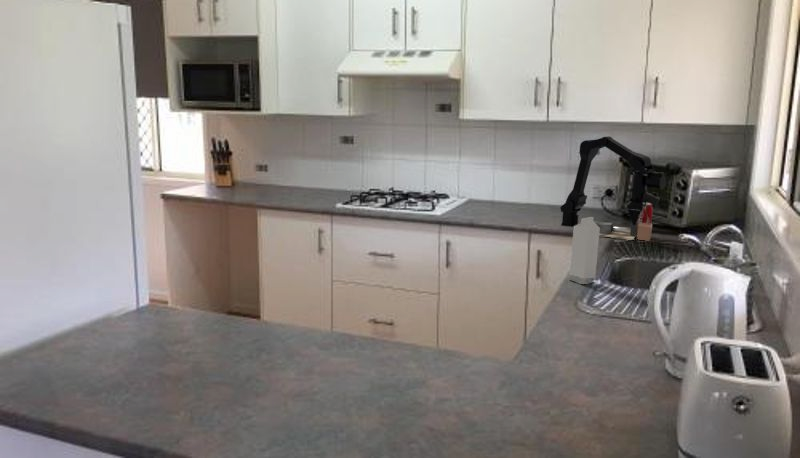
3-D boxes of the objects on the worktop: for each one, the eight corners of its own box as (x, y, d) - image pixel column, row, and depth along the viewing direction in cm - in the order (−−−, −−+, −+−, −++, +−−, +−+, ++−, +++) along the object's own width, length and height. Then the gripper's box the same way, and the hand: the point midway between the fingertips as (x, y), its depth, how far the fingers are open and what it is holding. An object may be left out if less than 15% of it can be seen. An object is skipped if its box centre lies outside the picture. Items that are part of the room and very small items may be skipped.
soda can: (651, 231, 300) (654, 205, 297) (635, 230, 301) (637, 204, 298) (649, 228, 307) (652, 202, 304) (633, 227, 308) (635, 201, 305)
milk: (594, 282, 226) (601, 218, 221) (582, 285, 223) (589, 220, 217) (580, 278, 231) (586, 214, 226) (568, 280, 227) (574, 216, 222)
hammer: (602, 232, 291) (603, 219, 290) (603, 230, 294) (604, 218, 293) (646, 237, 284) (648, 224, 283) (647, 235, 287) (648, 222, 285)
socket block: (636, 240, 284) (638, 225, 283) (638, 236, 290) (639, 222, 289) (649, 241, 282) (650, 226, 281) (650, 238, 288) (652, 223, 287)
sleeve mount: (577, 234, 292) (578, 223, 291) (582, 229, 302) (583, 218, 301) (633, 241, 283) (634, 229, 282) (636, 235, 292) (637, 224, 291)
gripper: (657, 191, 271) (653, 229, 275) (661, 184, 288) (657, 220, 291) (628, 188, 276) (624, 226, 279) (633, 182, 292) (630, 217, 296)
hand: (635, 222), depth 286 cm, fingers open, 9 cm apart
